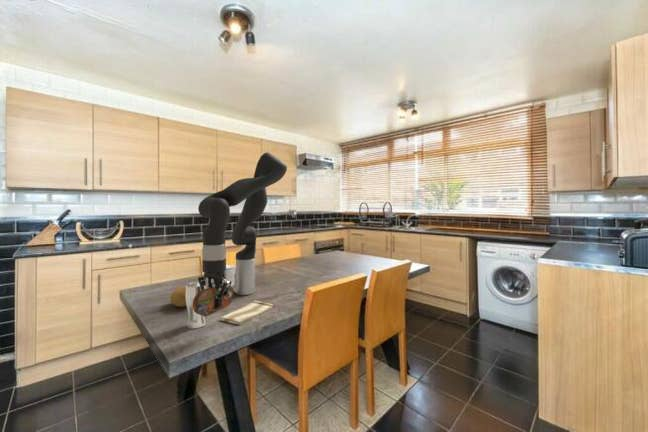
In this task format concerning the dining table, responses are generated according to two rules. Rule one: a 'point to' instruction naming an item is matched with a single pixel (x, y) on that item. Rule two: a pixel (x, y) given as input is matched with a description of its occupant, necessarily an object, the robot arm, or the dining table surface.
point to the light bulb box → (230, 274)
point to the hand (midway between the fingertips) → (214, 307)
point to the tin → (210, 301)
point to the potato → (179, 296)
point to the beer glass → (193, 318)
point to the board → (246, 312)
